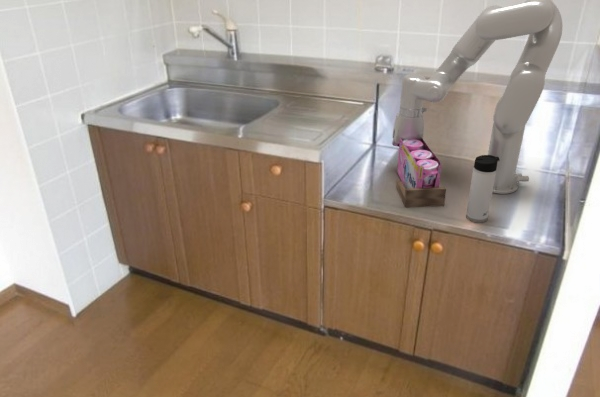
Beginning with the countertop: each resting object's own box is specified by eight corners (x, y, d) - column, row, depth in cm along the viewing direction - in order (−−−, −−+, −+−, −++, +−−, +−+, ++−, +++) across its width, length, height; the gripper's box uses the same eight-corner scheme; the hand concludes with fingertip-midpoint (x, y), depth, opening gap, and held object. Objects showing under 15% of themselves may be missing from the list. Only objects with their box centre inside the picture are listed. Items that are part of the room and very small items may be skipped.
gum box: (439, 204, 158) (444, 166, 151) (415, 206, 157) (419, 167, 150) (417, 171, 178) (421, 136, 172) (396, 172, 178) (399, 137, 171)
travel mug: (489, 223, 147) (501, 162, 137) (466, 222, 148) (476, 161, 138) (487, 213, 152) (498, 153, 143) (464, 211, 153) (474, 152, 144)
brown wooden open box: (432, 185, 169) (433, 169, 166) (443, 205, 157) (446, 188, 154) (396, 186, 169) (397, 171, 166) (405, 207, 157) (406, 190, 154)
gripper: (429, 107, 172) (423, 155, 181) (387, 108, 172) (382, 156, 181) (435, 114, 165) (428, 164, 174) (391, 115, 165) (386, 165, 174)
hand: (405, 160), depth 177 cm, fingers closed
